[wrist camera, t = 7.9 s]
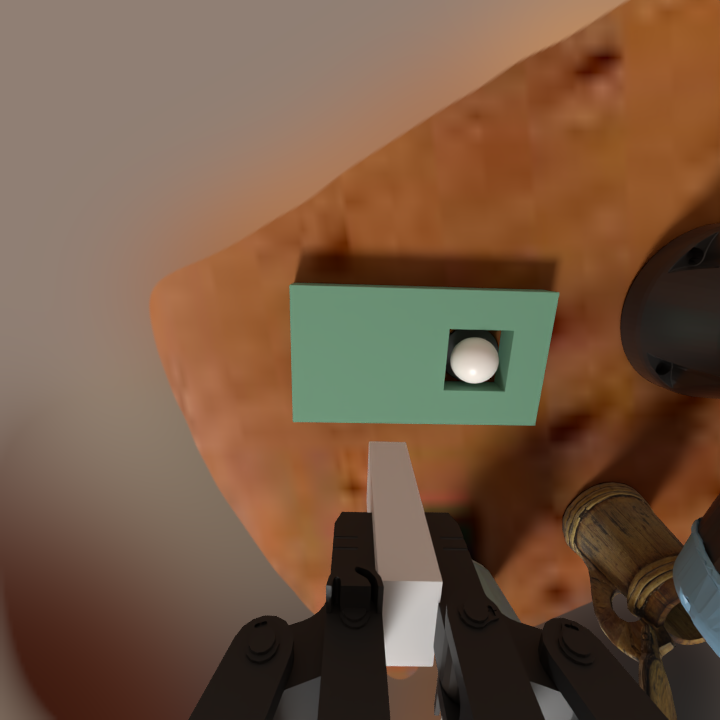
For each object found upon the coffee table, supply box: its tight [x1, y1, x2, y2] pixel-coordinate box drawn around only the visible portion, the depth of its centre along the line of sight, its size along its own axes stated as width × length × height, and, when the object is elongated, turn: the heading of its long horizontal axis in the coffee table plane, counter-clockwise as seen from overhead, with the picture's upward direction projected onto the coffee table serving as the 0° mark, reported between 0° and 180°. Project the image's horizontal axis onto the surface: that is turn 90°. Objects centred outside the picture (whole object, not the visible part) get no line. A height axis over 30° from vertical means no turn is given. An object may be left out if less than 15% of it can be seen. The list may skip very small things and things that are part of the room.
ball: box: [450, 337, 499, 383], centre depth 31 cm, size 4×4×4 cm
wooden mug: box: [563, 482, 706, 720], centre depth 31 cm, size 9×14×18 cm, turn 124°
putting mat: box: [290, 283, 559, 425], centre depth 32 cm, size 22×12×2 cm, turn 88°
